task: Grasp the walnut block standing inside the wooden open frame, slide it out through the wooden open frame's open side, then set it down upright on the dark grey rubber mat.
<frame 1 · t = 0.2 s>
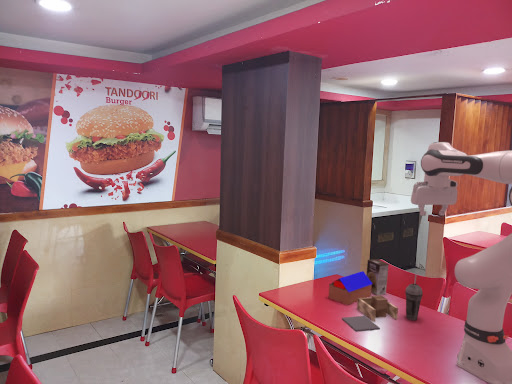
hand: (432, 215, 171), 47 cm above the table, fingers open, 8 cm apart
mat: (360, 324, 176), on the table
house: (349, 297, 206), on the table
beverage cup: (411, 318, 184), on the table
coffee box: (375, 292, 215), on the table
wooden open frame: (375, 313, 188), on the table
block: (378, 314, 186), on the table
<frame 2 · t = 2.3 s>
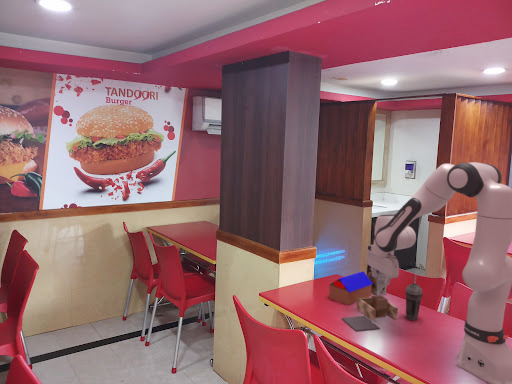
hand: (380, 280, 184), 16 cm above the table, fingers open, 8 cm apart
nothing on the table moved.
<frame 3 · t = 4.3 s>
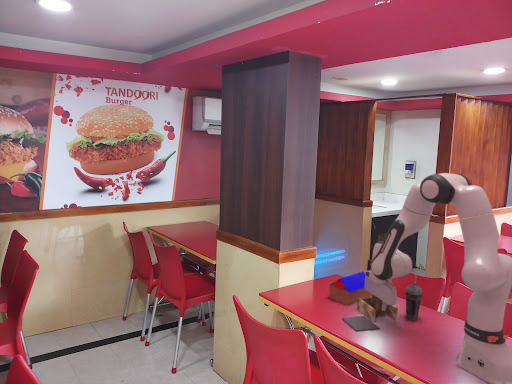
hand: (378, 307, 186), 4 cm above the table, fingers closed on block, 5 cm apart
block: (378, 314, 186), on the table, touching gripper
everything else where it was.
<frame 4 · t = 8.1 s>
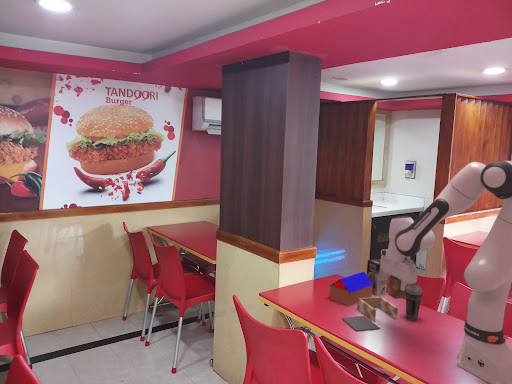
hand: (397, 287, 173), 17 cm above the table, fingers closed on block, 5 cm apart
block: (396, 296, 173), point 13 cm above the table, touching gripper
everything else where it was.
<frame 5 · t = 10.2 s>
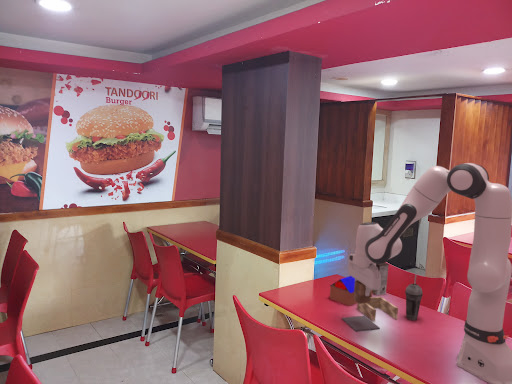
hand: (362, 292, 174), 14 cm above the table, fingers closed on block, 5 cm apart
block: (361, 300, 174), point 10 cm above the table, touching gripper
everything else where it was.
when the fingers open (6 cm above the table, at t = 12.1 s): block drops 1 cm, resting on mat.
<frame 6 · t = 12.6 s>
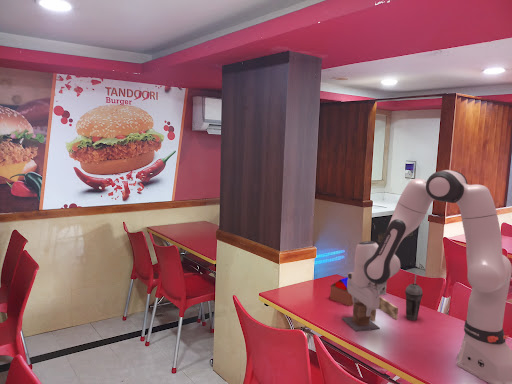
hand: (361, 311, 175), 6 cm above the table, fingers open, 8 cm apart
block: (360, 322, 175), point 1 cm above the table, touching mat
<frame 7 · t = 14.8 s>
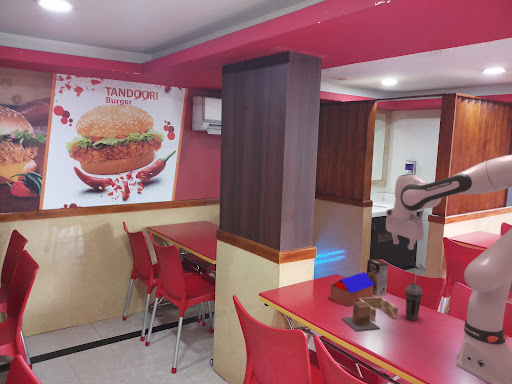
hand: (403, 246, 172), 34 cm above the table, fingers open, 8 cm apart
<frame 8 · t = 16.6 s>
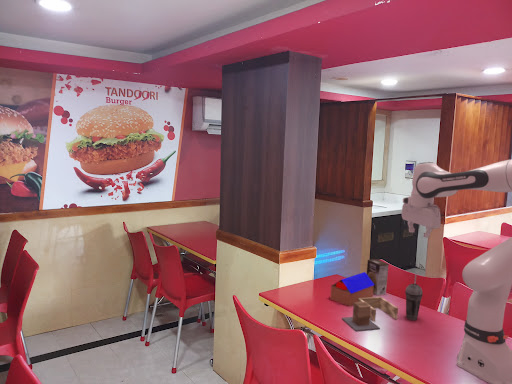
hand: (418, 234, 172), 39 cm above the table, fingers open, 8 cm apart
at the end: block 0.1 cm from the mat (horizontally); block tilted 0°; block touching mat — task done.
